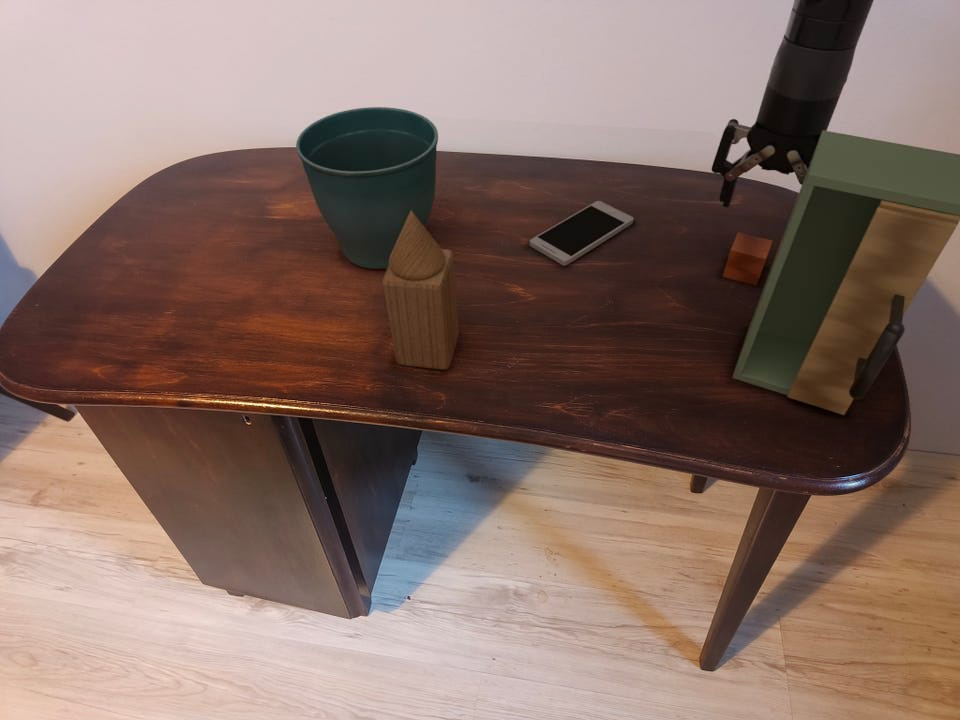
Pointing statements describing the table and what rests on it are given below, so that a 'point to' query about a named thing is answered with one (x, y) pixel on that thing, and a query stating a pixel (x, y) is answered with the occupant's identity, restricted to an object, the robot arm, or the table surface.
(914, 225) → the door
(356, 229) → the flower pot
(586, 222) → the smartphone
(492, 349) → the table surface
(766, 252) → the block
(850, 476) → the table surface
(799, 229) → the box
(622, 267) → the table surface
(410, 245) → the decorative item
